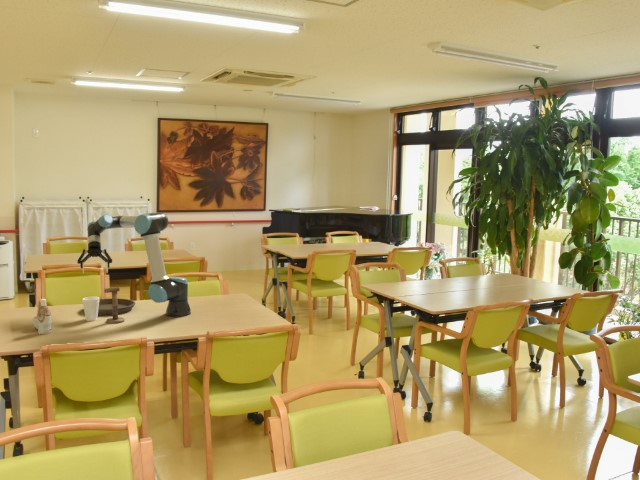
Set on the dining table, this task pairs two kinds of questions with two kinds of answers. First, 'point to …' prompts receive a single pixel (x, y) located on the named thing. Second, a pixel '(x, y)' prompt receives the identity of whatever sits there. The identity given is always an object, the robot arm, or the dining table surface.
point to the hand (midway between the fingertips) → (95, 272)
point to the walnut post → (114, 306)
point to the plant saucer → (106, 306)
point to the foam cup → (91, 308)
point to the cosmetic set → (43, 318)
